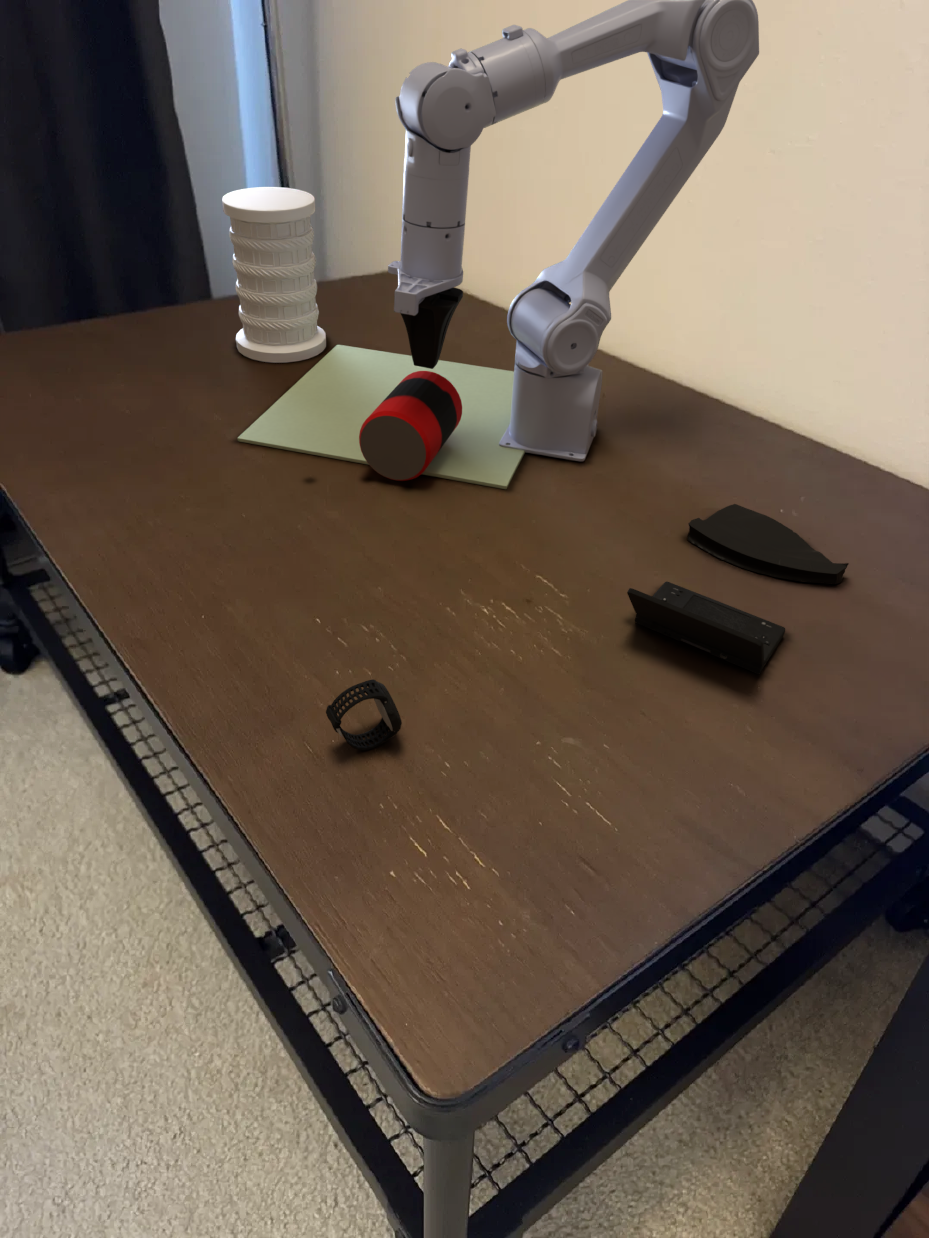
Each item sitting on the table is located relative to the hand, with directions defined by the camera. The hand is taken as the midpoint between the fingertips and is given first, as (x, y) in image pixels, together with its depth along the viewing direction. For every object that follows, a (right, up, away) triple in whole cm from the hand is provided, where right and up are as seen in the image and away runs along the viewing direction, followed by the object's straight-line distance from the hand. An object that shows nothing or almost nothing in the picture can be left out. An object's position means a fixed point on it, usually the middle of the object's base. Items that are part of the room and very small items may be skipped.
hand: (425, 365), depth 90 cm
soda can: (-3, -9, -1) cm, 9 cm away
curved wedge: (+31, -19, -5) cm, 37 cm away
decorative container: (-20, +11, +29) cm, 37 cm away
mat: (-2, -1, +16) cm, 16 cm away
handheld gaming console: (+23, -27, -16) cm, 39 cm away
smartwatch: (-3, -34, -26) cm, 43 cm away
